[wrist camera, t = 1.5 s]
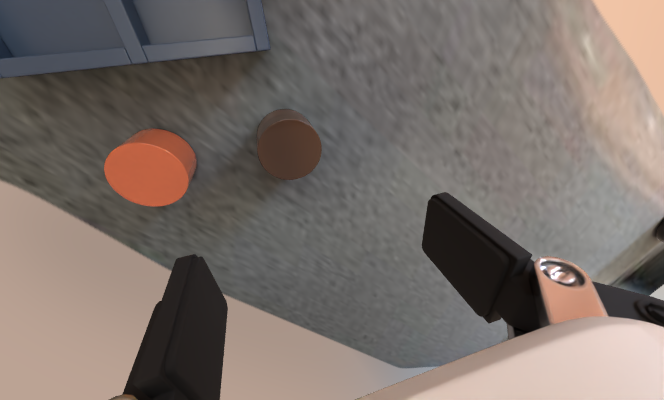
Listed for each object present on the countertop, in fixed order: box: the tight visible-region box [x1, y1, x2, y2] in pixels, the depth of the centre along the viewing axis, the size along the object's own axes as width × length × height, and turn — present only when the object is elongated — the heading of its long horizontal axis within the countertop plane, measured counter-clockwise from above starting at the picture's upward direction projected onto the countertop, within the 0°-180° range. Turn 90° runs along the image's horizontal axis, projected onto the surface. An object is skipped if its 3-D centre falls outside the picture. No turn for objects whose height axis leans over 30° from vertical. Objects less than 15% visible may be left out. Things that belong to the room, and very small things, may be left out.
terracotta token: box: [104, 129, 197, 206], centre depth 17 cm, size 4×4×3 cm
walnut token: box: [257, 109, 322, 180], centre depth 18 cm, size 4×4×3 cm
